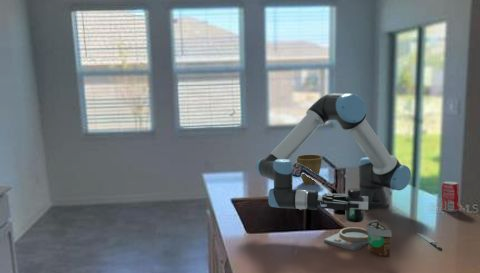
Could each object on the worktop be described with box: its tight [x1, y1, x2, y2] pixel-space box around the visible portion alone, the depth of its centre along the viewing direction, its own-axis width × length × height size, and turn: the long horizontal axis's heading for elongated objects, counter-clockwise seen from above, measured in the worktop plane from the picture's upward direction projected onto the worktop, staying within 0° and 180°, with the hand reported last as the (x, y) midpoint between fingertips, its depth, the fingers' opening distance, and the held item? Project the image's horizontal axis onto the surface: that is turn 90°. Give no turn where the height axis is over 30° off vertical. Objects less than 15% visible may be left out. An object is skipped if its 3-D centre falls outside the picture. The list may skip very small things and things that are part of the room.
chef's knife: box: [416, 232, 443, 251], centre depth 159 cm, size 19×1×3 cm
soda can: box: [441, 180, 460, 213], centre depth 192 cm, size 7×7×13 cm
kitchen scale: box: [323, 226, 369, 252], centre depth 162 cm, size 13×17×2 cm
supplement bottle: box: [344, 187, 365, 224], centre depth 162 cm, size 7×7×12 cm
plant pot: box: [295, 154, 323, 185], centre depth 250 cm, size 15×15×16 cm
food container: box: [365, 219, 393, 258], centre depth 149 cm, size 12×6×10 cm, turn 5°
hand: (368, 202), depth 160 cm, fingers closed on supplement bottle, 7 cm apart
